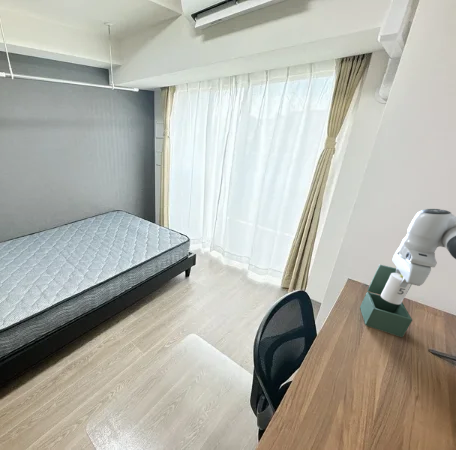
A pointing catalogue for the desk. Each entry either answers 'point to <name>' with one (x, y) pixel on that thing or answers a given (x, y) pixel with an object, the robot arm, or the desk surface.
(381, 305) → the box
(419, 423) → the desk surface
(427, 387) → the desk surface
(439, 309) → the desk surface
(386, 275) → the box lid
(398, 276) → the candle
